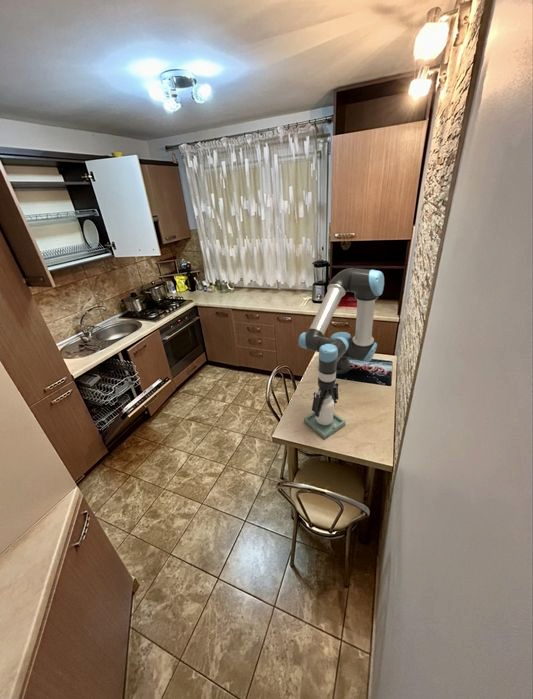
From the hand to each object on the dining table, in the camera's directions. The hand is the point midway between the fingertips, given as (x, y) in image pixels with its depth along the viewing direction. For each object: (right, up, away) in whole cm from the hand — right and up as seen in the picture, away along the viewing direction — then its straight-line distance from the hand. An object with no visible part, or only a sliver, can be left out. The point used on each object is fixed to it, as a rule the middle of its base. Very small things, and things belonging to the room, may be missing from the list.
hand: (324, 416), depth 133 cm
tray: (0, -4, +2) cm, 5 cm away
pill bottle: (0, -2, +1) cm, 2 cm away
